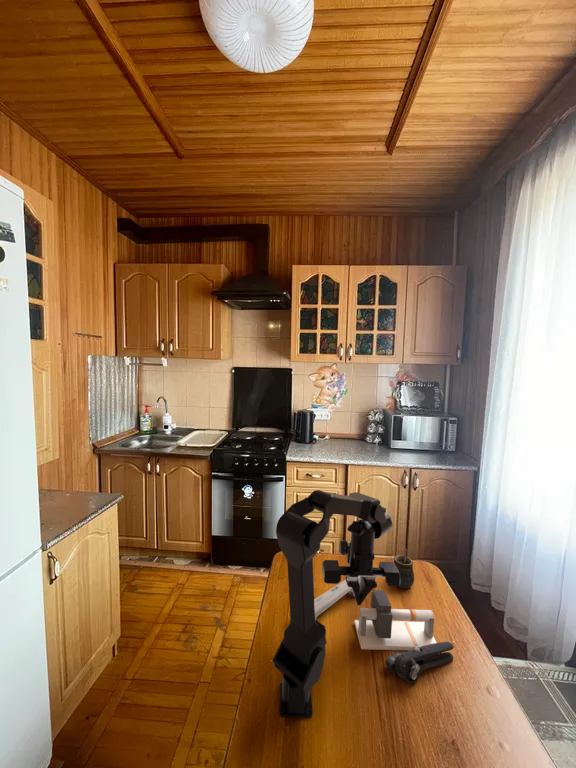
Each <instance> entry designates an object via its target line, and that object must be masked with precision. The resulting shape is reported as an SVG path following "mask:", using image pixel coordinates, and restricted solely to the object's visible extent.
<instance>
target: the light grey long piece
mask: <svg viewBox="0 0 576 768" xmlns="http://www.w3.org/2000/svg"><path fill="white" fill-rule="evenodd" d="M358 582H359V585H360V577H358ZM346 594H348V595H350V596H351V597H354V598H355V595H354V591H353V589H352V587H348V586H347V583H346V579H344V580H343V581H340V582H339V583H338V584H335V585H334V587H332V588H330V589H328V590H327V591H325V592H324V593H322V594H320V595H319V596H317V597H316V598H314V607H315V620H317V618H318V616H320V615H322V614H323V613H324V611H326V610H327V609H329V608H330V607H331V606H332V605H334V604H335V603H336V602H337V601H339V600H340V599H341V598H343V597H344V596H346Z"/></svg>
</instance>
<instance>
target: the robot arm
mask: <svg viewBox="0 0 576 768" xmlns="http://www.w3.org/2000/svg"><path fill="white" fill-rule="evenodd" d="M315 510H316V511H318V512H321V513H322V518H321V519H320V520H319V522H318V523H317V522H316V521H314V520H312V519H310V518H308V517H305V516H306V515H308V514H311V513H312V512H314V511H315ZM333 515H342V516H353V517H355V518H358V520H353V521H352V523H350V525H348V527H347V528H346V529H347V531H348V532H350V542H348V541H347V540H344V539H343V540H342V539H340V540H339V544H338V545H339V546H338V547H339V548H338V549H339V551H338V552H339V553H340V555H345V556H346V562H347V563H348V564H349V565H346V566H345V565H340V564H339V560H338V559H337V560H336V559H324V560H323V561H322V562H321V572H322V576H323V582H324V583H325V584H332V585H334V584H335V585H338V584H339V583H341V582H342V576H344V578H345V579H344V580H346V583H347V586H348V587H352V589H353V591H354V595H355V597H354V598H355V602H356V605H357V606H361V605H362V604H363V602H364V601H365V599H366V597H368V595H369V594H370V593H371V592H372V591H373V590H374V589H376V588H378V584H377V581H376V579H377V578H384V582H385V583H386V584H387V585H388V586H393V587H394V586H396V587H398V586H399V585H400V584H401V575H400V573H399V571H398V569H397V567H396V565H395V564H394V561H378V567H374V561H375V554H374V553H375V552H374V551H375V540H378V539H379V538H381V537H382V536H384V535H385V534H387V533H388V532H389V531H390V530H391V529H392V527H393V521H392V517H390V515H389V514H388V513H387V508H386V507H384V506H382V505H381V501H380V500H379V499H378V498H375V497H373V496H369V495H366V494H364V493H361V492H358V491H357V492H350V493H349V495H346V494H339V493H332V492H326V491H323V490H320V489H316V490H313V491H312V492H311V493H310V494H309V495H308V496H307V497H306V498H303V499H301V500H299V501H297V502H295V503H293V504H291V506H290V507H289V508H287V510H286V511H285V512H284V513H283V514H281V516H280V517H279V518H278V520H277V522H276V525H275V526H276V527H275V534H276V535H275V536H276V539H277V543H278V547H279V549H280V551H281V552H282V554H283V556H284V557H285V559H286V561H287V562H286V563H287V578H288V579H287V580H288V600H289V613H290V616H289V617H290V623H288V625H287V627H285V630H283V638H282V640H281V642H280V645H279V646H278V648H277V650H276V652H275V654H274V657H273V658H272V663H273V667H274V668H276V669H278V671H279V672H281V673H282V681H281V682H280V684H279V713H278V714H279V716H280V717H283V718H284V717H288V718H312V717H313V715H314V713H313V712H314V711H313V701H312V690H311V689H312V688H313V687H314V686H315V685H316V684H317V683H318V682H319V681H320V679H321V677H322V676H321V674H322V671H323V667H324V663H325V659H326V645H327V643H328V642H327V639H326V638H327V637H326V635H327V634H326V633H327V630H326V626H325V625H324V624H323V623H321V622H319V621H318V620H317V619H316V620H315V607H314V599H315V589H314V585H315V584H314V563H313V559H314V557H315V556H316V554H317V553H319V551H320V549H321V542H322V541H323V540H324V538H325V537H326V536H327V535H328V533H329V531H330V523H331V518H332V517H333ZM358 577H360V585H359V582H358Z"/></svg>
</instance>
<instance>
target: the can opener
mask: <svg viewBox="0 0 576 768" xmlns="http://www.w3.org/2000/svg"><path fill="white" fill-rule="evenodd" d="M454 648H455V647H454V645H453V643H451V642H449V641H440V642H437V643H434V644H429V645H425V646H422V647H419V648H418V647H415V648H414V649H413V650H407V651H406V652H397V653H393V654H391V655H389V656H388V657H387V658H386V660H385V665H386V667H387V668H388V669H389V670H390V672H392V673H396V674H397V675H398V676H399V678H401V679H402V680H404V681H406V682H407V683H409V684H416V683H417V682H418V680H419V676H420V674H421V673H423V672H424V671H425V670H427V669H430V668H434V667H439V666H443V665H445V664H447V663H450V662H451V661H453V660H454V655H453V654H452V653H451V652H449V651H451V650H453V649H454Z"/></svg>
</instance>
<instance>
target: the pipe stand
mask: <svg viewBox="0 0 576 768" xmlns="http://www.w3.org/2000/svg"><path fill="white" fill-rule="evenodd" d="M358 613H359V615H358V617H359V618H358V619H355V620H354V627H355V630H356V634H357V639H358V642H359V646H360V649H361V650H375V651H376V650H379V651H381V650H384V651H411V650H413V649H414V648H415V647H418V648H419V647H422V646H425V645H429V644H434V643H438V642H437V641H436V638H435V637H434V625H435V617H434V613H433V610H432V609H414V608H407V609H405V608H404V609H403V608H391V613H392V629H391V638H378V636H377V635H376V632H375V629H374V626H373V623H372V620H377V611H376V609H375V608H371V607H360V608H359V612H358Z"/></svg>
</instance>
